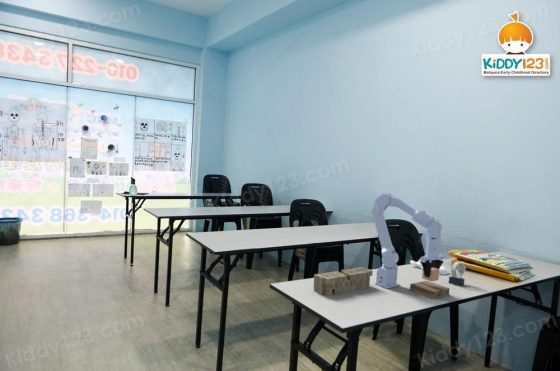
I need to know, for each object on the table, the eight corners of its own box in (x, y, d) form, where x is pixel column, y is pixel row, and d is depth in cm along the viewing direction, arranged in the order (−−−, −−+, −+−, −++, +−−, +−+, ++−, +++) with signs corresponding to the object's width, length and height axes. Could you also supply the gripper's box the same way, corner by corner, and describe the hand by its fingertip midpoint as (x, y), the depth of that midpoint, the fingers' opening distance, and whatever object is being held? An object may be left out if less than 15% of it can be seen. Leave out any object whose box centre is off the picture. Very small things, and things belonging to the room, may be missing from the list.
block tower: (324, 298, 163) (372, 287, 179) (325, 279, 162) (373, 269, 178) (312, 292, 170) (360, 282, 186) (313, 274, 169) (361, 265, 185)
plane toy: (440, 276, 204) (441, 265, 204) (409, 266, 221) (410, 256, 220) (452, 274, 210) (453, 263, 209) (420, 264, 226) (421, 255, 226)
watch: (466, 284, 191) (468, 262, 191) (457, 286, 187) (459, 264, 186) (455, 281, 196) (457, 260, 195) (446, 283, 191) (448, 261, 191)
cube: (431, 281, 172) (432, 270, 172) (422, 278, 176) (423, 267, 176) (438, 280, 175) (439, 269, 174) (428, 277, 179) (429, 266, 178)
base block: (432, 298, 167) (433, 292, 167) (409, 290, 177) (410, 283, 177) (448, 294, 174) (449, 288, 174) (425, 286, 184) (426, 280, 184)
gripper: (431, 250, 167) (428, 280, 168) (450, 247, 175) (448, 276, 176) (417, 246, 173) (414, 276, 174) (436, 244, 181) (434, 272, 182)
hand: (430, 276), depth 175 cm, fingers closed on cube, 5 cm apart
